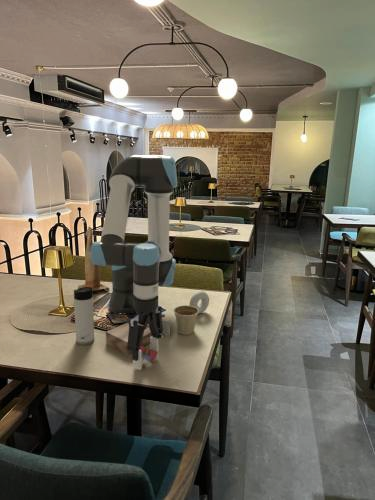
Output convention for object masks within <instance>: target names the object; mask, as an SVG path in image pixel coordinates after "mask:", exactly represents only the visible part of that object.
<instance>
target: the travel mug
mask: <svg viewBox="0 0 375 500" xmlns="http://www.w3.org/2000/svg"><path fill="white" fill-rule="evenodd" d="M93 292H94V291H92V288H91V287H82V288H80V289H78V288H77V289H74V290H73V299H74V300H73V301H74V302H73V303H74V305H73V306H74V321H75V322H74V325H75V326H74V327H75V328H74V329H75V343H76V344H78V345H80V346H87V345H91V344H92V343H94V341H95V320H94V318H95V317H94V297H93Z"/></svg>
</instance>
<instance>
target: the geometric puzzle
mask: <svg viewBox="0 0 375 500" xmlns="http://www.w3.org/2000/svg"><path fill="white" fill-rule="evenodd" d="M150 342H151V341H150ZM146 344H147V343H146ZM144 345H145V344H144ZM152 345H153V344H152ZM152 349H153V348H152ZM152 349H150V344H149V346H148V347H144V346H142V345H141V346H140V350H142V363H144V360H145V361H147V363H145V365H148V363H149V365H150V364H154V361H155V360H156V356H157V353H158V354H159V351H158V352H157V351H154V350H152Z"/></svg>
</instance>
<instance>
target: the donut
mask: <svg viewBox="0 0 375 500" xmlns="http://www.w3.org/2000/svg"><path fill="white" fill-rule="evenodd" d="M200 300H201V302H200V304H199V305H198V303H199V301H200ZM209 304H210V297H209V295H208V294H207V293H206V291H203V290H200V291H199V290H198V291H196V292H195V293H194V294H193V295H192V296H191V298H190V300H189V305H188V306H194V307H196V308H197V309H198V310H199V313H198V314H197V315H200V314H202V313H203V314H204V312H205V311H206V310H207V309H208V306H209Z"/></svg>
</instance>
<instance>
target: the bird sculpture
mask: <svg viewBox="0 0 375 500" xmlns="http://www.w3.org/2000/svg"><path fill="white" fill-rule="evenodd" d="M93 235H94V233H93V229H92V227H91V226H88V227H87V229H86V231H85V237H87V241H86V249H85V256H84V257H85V258H84V278H85V282H84V284H80V285H78V287H77V289H80V288H82V287H91V288H92V292H96V291H100V290H102V289H104V290H107V291H110V287H108V286H105V285H104V284H101V267H100V266H101V265H95V264H93V263H92V260H91V246H92V244H93V243H94V242H93V240H94V237H93Z"/></svg>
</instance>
